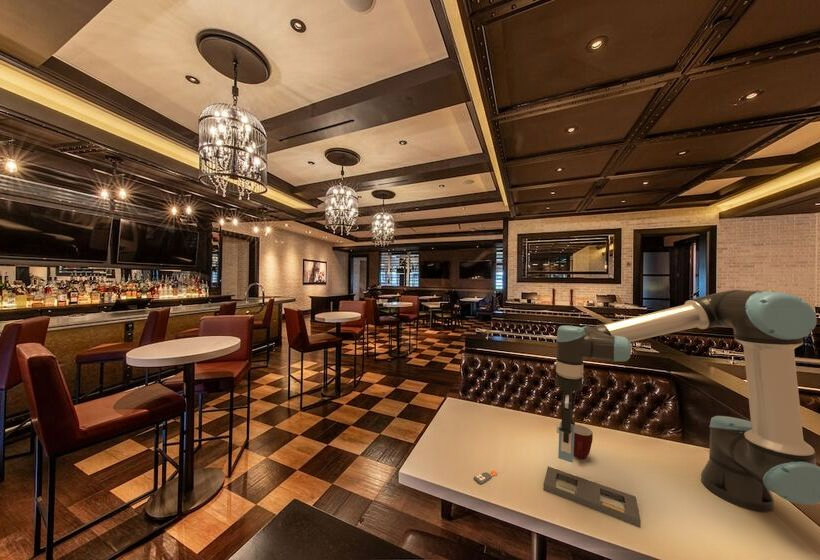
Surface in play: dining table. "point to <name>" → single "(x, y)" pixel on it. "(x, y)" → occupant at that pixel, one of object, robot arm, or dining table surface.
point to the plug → (566, 455)
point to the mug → (582, 441)
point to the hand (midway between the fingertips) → (566, 447)
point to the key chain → (484, 477)
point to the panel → (593, 495)
